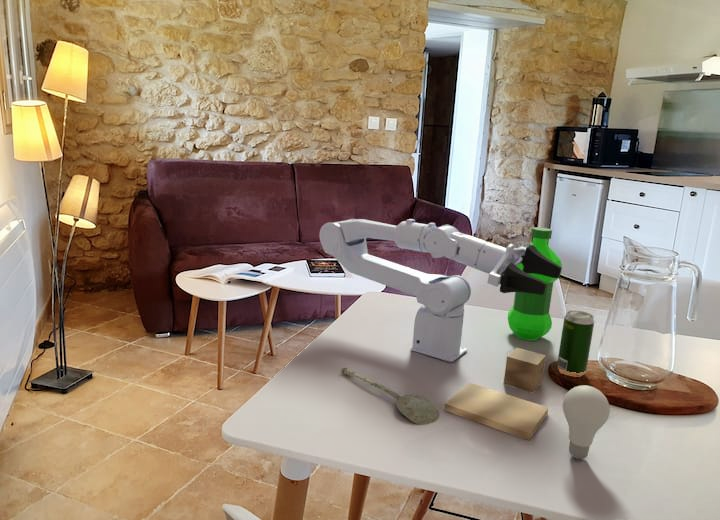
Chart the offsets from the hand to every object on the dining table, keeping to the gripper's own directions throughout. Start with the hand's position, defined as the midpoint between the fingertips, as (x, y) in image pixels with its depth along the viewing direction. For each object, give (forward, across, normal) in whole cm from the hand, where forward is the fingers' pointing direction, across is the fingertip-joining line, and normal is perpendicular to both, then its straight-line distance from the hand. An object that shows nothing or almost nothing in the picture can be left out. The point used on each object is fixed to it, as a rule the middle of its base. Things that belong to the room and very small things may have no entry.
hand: (552, 281), depth 97 cm
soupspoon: (-15, -28, +17) cm, 36 cm away
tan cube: (+1, -7, +19) cm, 20 cm away
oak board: (+1, -20, +16) cm, 26 cm away
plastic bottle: (-6, +17, +25) cm, 31 cm away
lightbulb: (+15, -24, +13) cm, 32 cm away
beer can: (+7, +4, +20) cm, 22 cm away
